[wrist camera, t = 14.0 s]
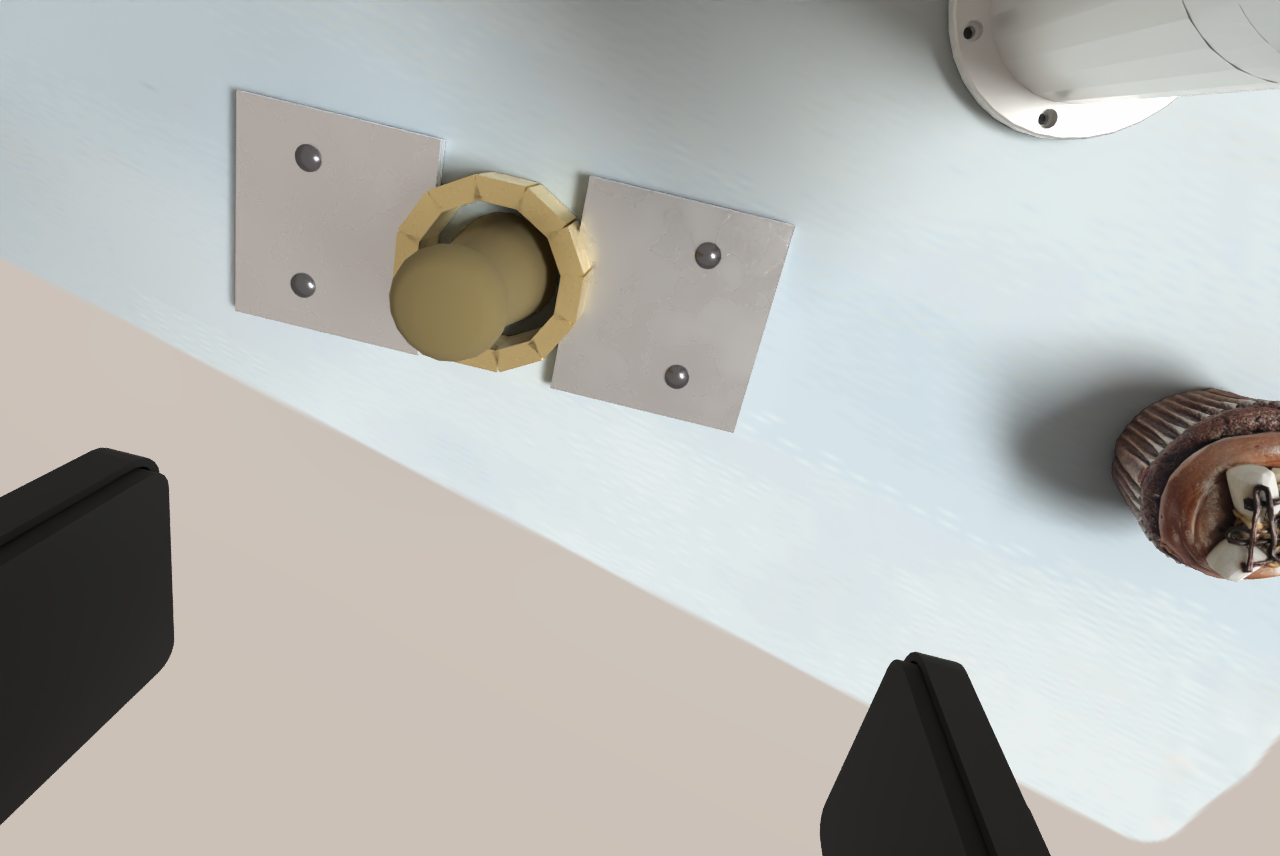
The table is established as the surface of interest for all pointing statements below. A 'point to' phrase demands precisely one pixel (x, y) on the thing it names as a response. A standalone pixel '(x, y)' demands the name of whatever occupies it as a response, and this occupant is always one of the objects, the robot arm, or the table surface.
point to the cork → (472, 287)
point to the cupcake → (1206, 481)
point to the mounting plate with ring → (585, 255)
